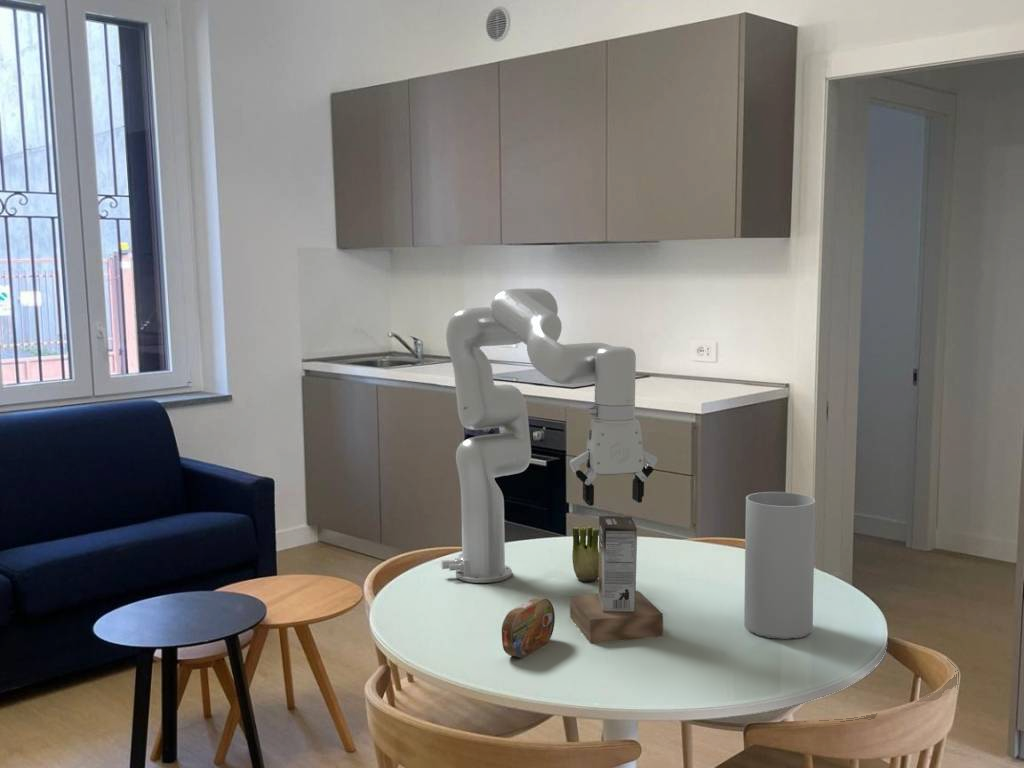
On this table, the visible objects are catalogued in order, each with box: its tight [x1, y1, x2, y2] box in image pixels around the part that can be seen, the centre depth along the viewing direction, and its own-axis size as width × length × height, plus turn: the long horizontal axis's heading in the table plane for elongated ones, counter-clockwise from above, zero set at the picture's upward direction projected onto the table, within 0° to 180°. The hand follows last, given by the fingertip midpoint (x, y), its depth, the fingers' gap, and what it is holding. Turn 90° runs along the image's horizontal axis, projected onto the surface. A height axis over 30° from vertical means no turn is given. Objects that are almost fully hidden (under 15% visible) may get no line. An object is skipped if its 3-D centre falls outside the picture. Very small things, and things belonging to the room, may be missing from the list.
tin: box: [501, 597, 556, 659], centre depth 183 cm, size 15×3×8 cm, turn 148°
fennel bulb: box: [571, 526, 599, 583], centre depth 224 cm, size 6×5×12 cm
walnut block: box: [569, 590, 664, 644], centre depth 194 cm, size 14×14×5 cm
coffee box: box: [597, 515, 638, 612], centre depth 193 cm, size 9×6×16 cm
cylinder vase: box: [743, 491, 816, 640], centre depth 191 cm, size 12×12×25 cm
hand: (613, 502), depth 192 cm, fingers open, 9 cm apart
